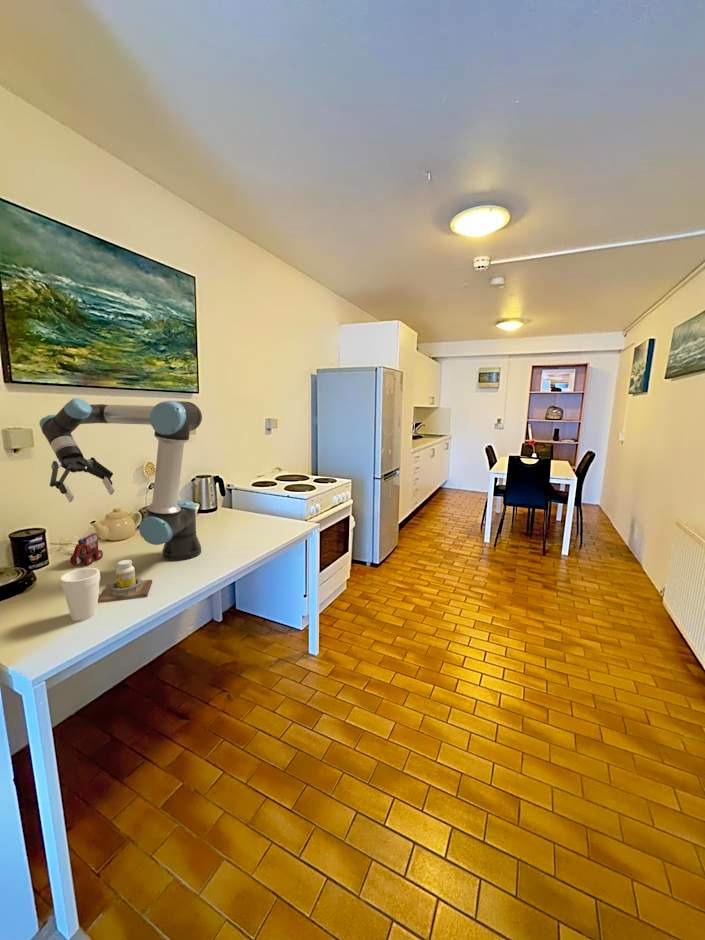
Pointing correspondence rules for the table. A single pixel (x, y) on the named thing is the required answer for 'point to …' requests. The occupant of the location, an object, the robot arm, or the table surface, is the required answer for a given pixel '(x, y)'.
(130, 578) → the supplement bottle
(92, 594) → the foam cup
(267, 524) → the table surface
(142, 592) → the socket board
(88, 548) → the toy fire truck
